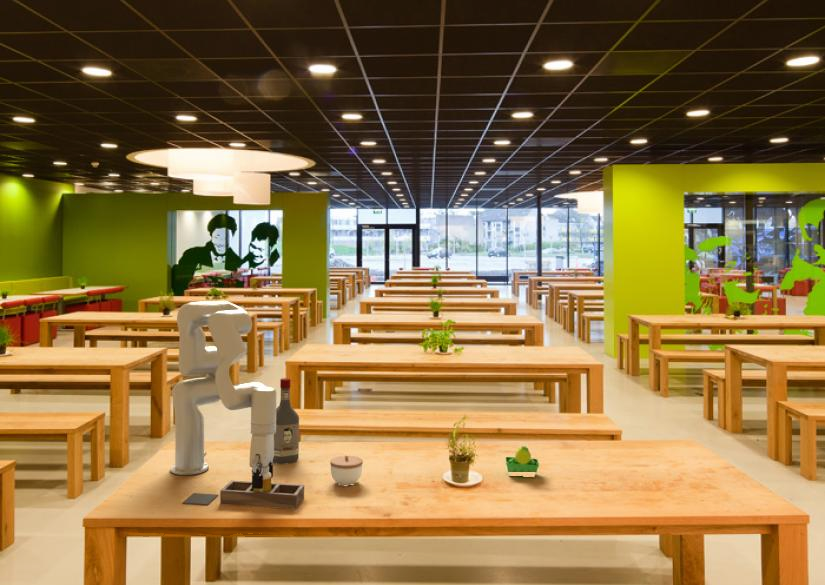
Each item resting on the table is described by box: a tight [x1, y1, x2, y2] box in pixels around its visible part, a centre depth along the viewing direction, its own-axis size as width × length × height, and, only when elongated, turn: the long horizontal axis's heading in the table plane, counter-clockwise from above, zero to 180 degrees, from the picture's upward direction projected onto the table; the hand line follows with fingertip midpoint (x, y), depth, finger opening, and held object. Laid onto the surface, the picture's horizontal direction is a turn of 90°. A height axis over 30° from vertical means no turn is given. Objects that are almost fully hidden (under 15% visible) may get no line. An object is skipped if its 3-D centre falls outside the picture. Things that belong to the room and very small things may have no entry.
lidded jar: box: [329, 454, 364, 486], centre depth 225 cm, size 11×11×9 cm
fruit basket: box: [504, 445, 540, 473], centre depth 237 cm, size 11×9×11 cm
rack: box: [219, 480, 305, 510], centre depth 207 cm, size 9×24×4 cm, turn 84°
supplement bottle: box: [253, 465, 272, 492], centre depth 207 cm, size 5×5×10 cm
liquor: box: [273, 377, 300, 465], centre depth 247 cm, size 9×9×30 cm
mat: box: [182, 492, 219, 506], centre depth 207 cm, size 8×8×1 cm
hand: (262, 482), depth 207 cm, fingers open, 9 cm apart
